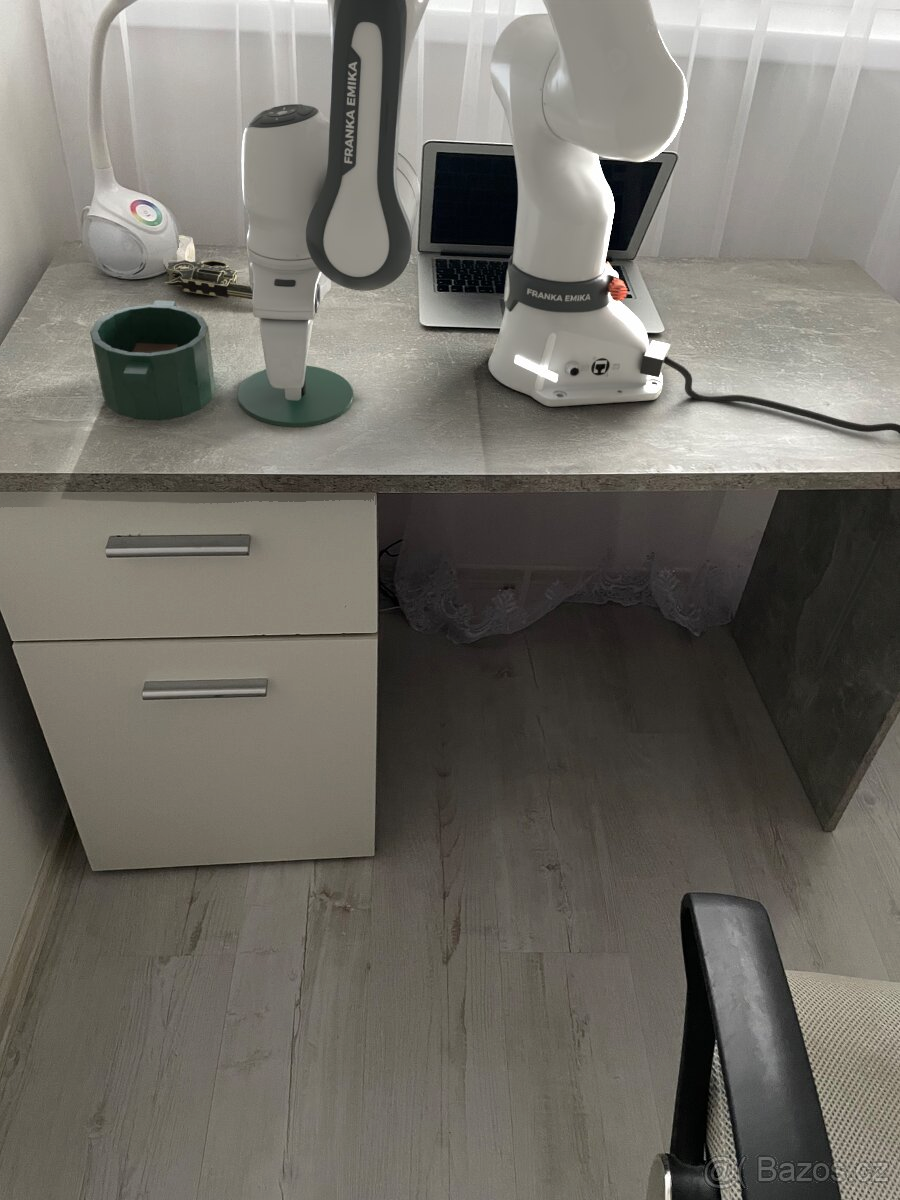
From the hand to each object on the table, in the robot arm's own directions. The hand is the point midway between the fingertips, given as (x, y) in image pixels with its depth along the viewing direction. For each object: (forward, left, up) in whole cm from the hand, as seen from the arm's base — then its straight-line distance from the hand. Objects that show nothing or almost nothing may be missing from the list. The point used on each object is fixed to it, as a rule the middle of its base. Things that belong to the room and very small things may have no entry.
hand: (295, 384), depth 112 cm
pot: (+16, 0, -2) cm, 16 cm away
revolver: (+13, -32, -2) cm, 35 cm away
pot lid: (0, 0, -2) cm, 2 cm away
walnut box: (+16, 0, -2) cm, 16 cm away
